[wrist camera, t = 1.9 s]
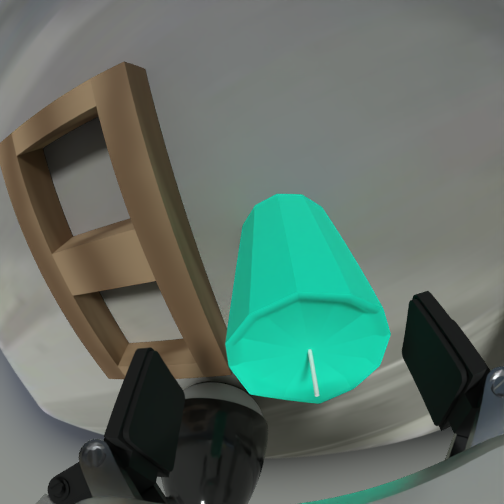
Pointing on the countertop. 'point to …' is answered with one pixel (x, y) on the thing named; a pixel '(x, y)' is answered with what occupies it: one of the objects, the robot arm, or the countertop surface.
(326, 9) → the countertop surface
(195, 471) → the pump dispenser
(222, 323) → the socket block
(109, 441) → the robot arm
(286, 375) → the candle
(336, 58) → the countertop surface
